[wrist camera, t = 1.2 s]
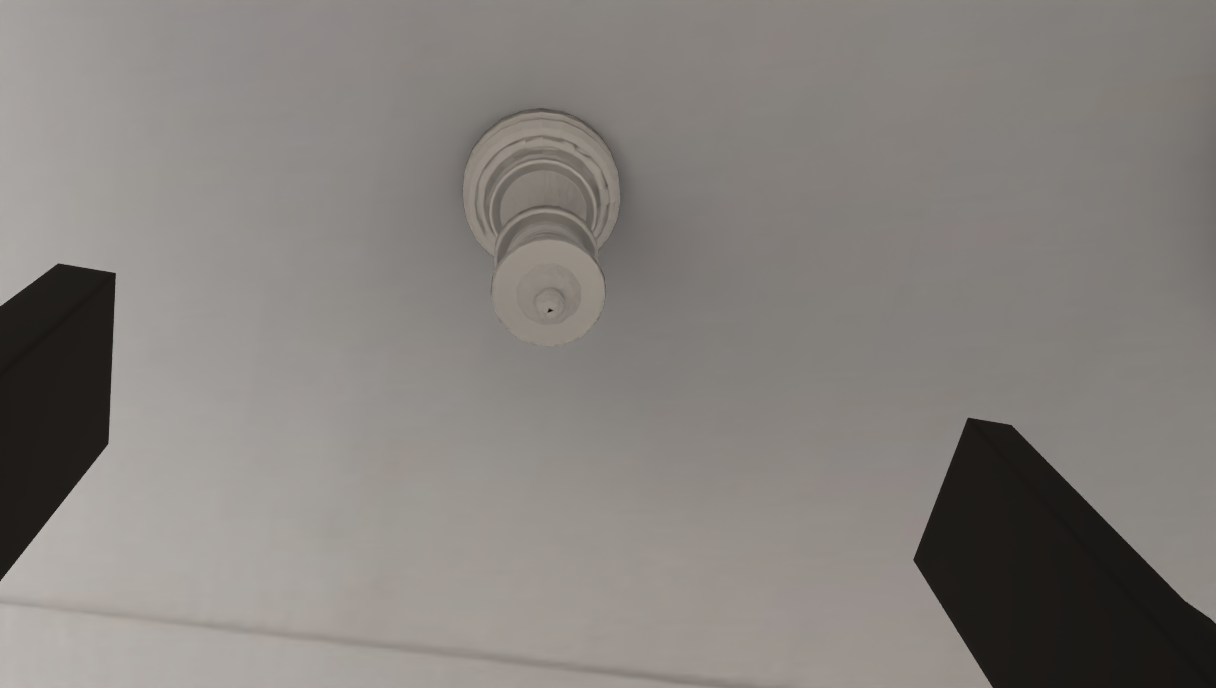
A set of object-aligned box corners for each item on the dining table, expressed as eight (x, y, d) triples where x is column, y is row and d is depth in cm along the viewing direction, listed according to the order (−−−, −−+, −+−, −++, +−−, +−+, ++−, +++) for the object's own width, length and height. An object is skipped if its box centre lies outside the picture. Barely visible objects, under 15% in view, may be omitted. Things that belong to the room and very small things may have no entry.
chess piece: (646, 158, 29) (704, 269, 20) (568, 284, 30) (588, 445, 21) (511, 77, 28) (505, 156, 19) (436, 212, 29) (396, 349, 20)
